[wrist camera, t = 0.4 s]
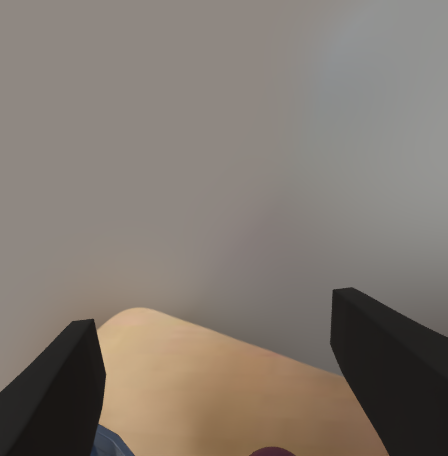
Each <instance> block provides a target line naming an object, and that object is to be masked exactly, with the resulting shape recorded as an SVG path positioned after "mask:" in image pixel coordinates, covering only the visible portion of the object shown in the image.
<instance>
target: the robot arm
mask: <svg viewBox="0 0 448 456" xmlns="http://www.w3.org/2000/svg"><path fill="white" fill-rule="evenodd" d="M330 345H331V347H332V350H333V352H334V355H335V357H336V360H337V362H338V364H339V367H340V369H341V371H342V373H343V375H344V377H345V379H346V381H347V382H348V384H349V386H350V388H351V389H352V391H353V393H354V394H355V396H356V398H357V400H358V401H359V403H360V405H361V406H362V408H363V410H364V411H365V413H366V415H367V417H368V418H369V420H370V422H371V423H372V425H373V427H374V428H375V430H376V432H377V433H378V435H379V437H380V439H381V440H382V442H383V444H384V446H385V448H386V450H387V452H388V454H389V456H448V337H446V336H443V335H441V334H439V333H437V332H435V331H433V330H431V329H429V328H427V327H425V326H423V325H421V324H419V323H417V322H415V321H413V320H411V319H409V318H407V317H406V316H404V315H402V314H400V313H398V312H396V311H395V310H393V309H391V308H389V307H387V306H386V305H384V304H382V303H380V302H379V301H377V300H375V299H373V298H371V297H370V296H368V295H366V294H364V293H362V292H361V291H358V290H357V289H354V288H352V287H351V288H343V289H334V290H333V296H332V317H331V338H330ZM105 380H106V372H105V367H104V363H103V358H102V354H101V349H100V345H99V340H98V336H97V331H96V327H95V322H94V319H87V320H80V321H72V322H71V323H70V324H69V325H68V326H67V327H66V328H65V329H64V330H63V331H62V332H61V333H60V335H58V336H57V337H56V338H55V340H54V341H53V342H52V343H51V344H50V345H49V346H48V347H47V348H46V349H45V350H44V351H43V352H42V353H41V354H40V355H39V356H38V357H37V358H36V359H35V360H34V361H33V362H32V363H31V364H30V365H29V366H28V367H27V368H26V369H25V370H24V371H23V372H22V373H21V374H20V375H19V376H17V377H16V378H15V379H14V380H13V381H12V382H11V383H10V384H9V385H8V386H7V387H5V389H3V390H2V391H1V392H0V456H90V455H91V451H92V447H93V443H94V439H95V435H96V431H97V427H98V423H99V419H100V415H101V411H102V406H103V398H104V389H105Z"/></svg>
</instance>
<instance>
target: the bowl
mask: <svg viewBox="0 0 448 456" xmlns="http://www.w3.org/2000/svg"><path fill="white" fill-rule="evenodd" d="M90 456H135V455H134V454H133V453H132V451H131V450H130V449H129V448H128V446H127V445H126V444H125V443H124V441H123V440H122V439H121V438H120V436H119V435H118V434H116V433H114V432H112V431H110V430H109V429H107V428H105V427H103V426H101V425H100V424H98V427H97V431H96V435H95V439H94V443H93V447H92V451H91V455H90Z"/></svg>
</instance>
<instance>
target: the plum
mask: <svg viewBox="0 0 448 456" xmlns="http://www.w3.org/2000/svg"><path fill="white" fill-rule="evenodd" d="M249 456H295V455H294V454H292V453H291V452H289V451H287V450H285V449H283V448H279V447H265V448H261V449H259V450H257V451H255V452H253V453H252V454H251V455H249Z"/></svg>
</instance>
